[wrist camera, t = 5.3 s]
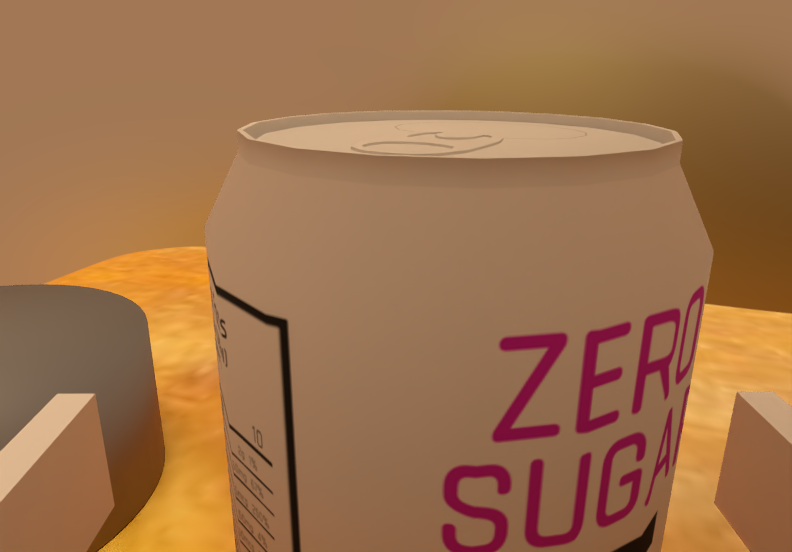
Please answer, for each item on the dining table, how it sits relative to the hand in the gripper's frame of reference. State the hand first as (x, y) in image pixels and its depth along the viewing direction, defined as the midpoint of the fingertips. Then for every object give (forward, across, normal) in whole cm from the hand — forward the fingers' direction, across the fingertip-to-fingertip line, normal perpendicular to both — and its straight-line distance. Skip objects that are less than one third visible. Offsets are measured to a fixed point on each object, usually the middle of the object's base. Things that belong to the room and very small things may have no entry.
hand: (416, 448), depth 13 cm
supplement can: (-1, 0, -9) cm, 9 cm away
